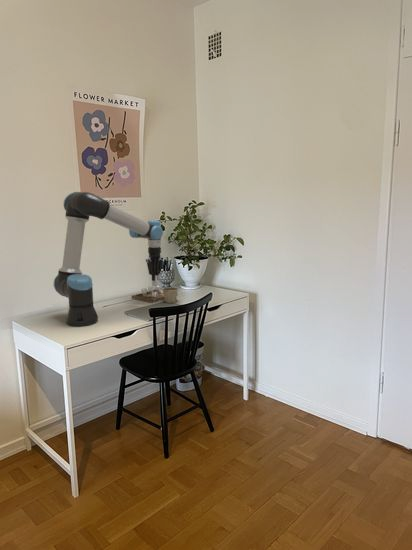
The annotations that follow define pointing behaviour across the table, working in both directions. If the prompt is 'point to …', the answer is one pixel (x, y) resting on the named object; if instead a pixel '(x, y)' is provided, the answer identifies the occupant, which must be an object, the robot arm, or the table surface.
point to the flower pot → (170, 294)
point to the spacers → (150, 292)
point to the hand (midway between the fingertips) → (154, 285)
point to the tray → (139, 297)
